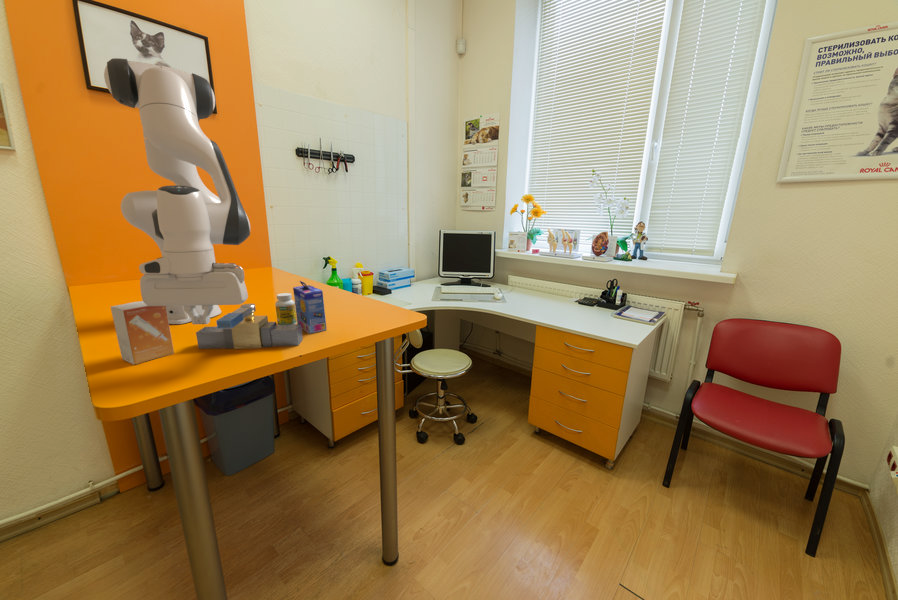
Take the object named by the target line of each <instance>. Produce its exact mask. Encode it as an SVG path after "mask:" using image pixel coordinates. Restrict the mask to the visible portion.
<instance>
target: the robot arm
mask: <svg viewBox="0 0 898 600" xmlns="http://www.w3.org/2000/svg"><path fill="white" fill-rule="evenodd" d="M103 73H104V74H103V78H104V83H105V85H106V88H107V89H108V91H109V93H110V94H111V95H112V98H113V99H114V100H115V101H117V102H118V104H121V105H123V106H126V107H129V108H132V109H135V108H137V109H138V111H139V117H140V123H141V126H142V133H143V135H142V136H143V141H144V147H145V154H146V161H147V165H148V168H149V169H150V170H151V171H152V172H153V173H155V174H156V175H158V177H159V176H160V177H161V178H164V179H166V180H168V181H171V182H172V183H174V185H165V186H161V187H159V188H157V189H156V190H140V191H133V192H127V193H126V194H125V195H124V196H123V198H122V199H121V203H120V210H121V214H122V216H123V218H124V219H125V220H126V221H127V222H128V223H129V224H130V225H131V226H133V227H134V228H136V229H138V230H141V231H142V232H144V233H145V234H147V236H148V237H150V238H151V239H152V240H153V241H154V243H155V244H156V245H157V247H158V248H159V250H160V253H161V257H157V258H156V259H152V260H150V261H146V262H143V263H141V264H139V266H138V269H139V272H140V273H141V274H143V275H142V276H141V277H140V281H139V286H140V294H141V299H142V300H141V301H143V302H144V303H145V304H146V305H147V306H166V311H167V316H168V322H169V325H182V324H186V323H190V322H191V323H192V325H209V323H210V322H211V318H213V317H217V316H218V315H221V313H222V310H221V308H220V306H229V305H230V306H233V305H234V306H236V305H243V304H244V303H245V302H246V301H247V299H248V297H249V295H248V294H249V293H248V290H247V286H246V283H245V271H244V268H242V267H241V266H240V265H239V264H238V265H237V264H236V263H234V262H229V263H222V262H219V263H218V262H216V256H215V251H214V250H215V249H214V245H232V246H239V245H241V244H243V242H245V241H246V240H247V239H248V238H249V237H250V236H251V223H250V219H249V217H248V215H247V213H246V210H245V209H244V207H243V204H242V202H241V200H240V197H239V195H238V192H237V189H236V186H235V183H234V181H233V178H232V176H231V172H230V171H229V168H228V165H227V162H226V160H225V158H224V156H223V153H222V150H221V149H220V147H219V145H218V144H217V142H215V141H214V140H212V139H210V138H208V136H207V135H206V134H205V133H204V132H203V130H202V128H201V126H200V123H199V122H200V120H206V119H208V118H209V117H211V116H212V115H213V112H214V110H215V107H216V96H215V93H214V90H213V89H212V85H211V83H210V82H209V81H208V79H206V78H205V77H203V76H201V75H198V74H196V73H193V72H192V73H188V72H186V71H182V70H180V69H177V68H173V67H170V66H166V65H158V64H154V63H153V64H152V63H147V62H140V61H135V60H134V61H131V60H128V59H127V58H111V59H109V60H108V61H107V62H106V66H105V69H104V72H103ZM197 167H198V168H200V169H202V170H204V171H205V172H206V173H207V174H208V175H209V176H210V177H211V179H212V182H213V185H214V188H215V191H216V193H217V195H218V196H217V195H216V194H215V193H213V191H211V190H210V189H209V188H207V186H206V185H205V184H204V182H203V180H202V178H201V177H200V175H199V173H198V169H197Z"/></svg>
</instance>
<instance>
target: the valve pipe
mask: <svg viewBox="0 0 898 600" xmlns="http://www.w3.org/2000/svg"><path fill="white" fill-rule="evenodd" d="M195 335H196V340H197V346H198V349H199V350H204V349H205V350H206V349H207V350H208V349H213V350H214V349H226V350H227V349H228V350H229V349H234V350H249V349H250V350H251V349H252V350H253V349H263V348H273V347H296V346H300V344H301V343H302V341H303V338H304V337H303V329H302V325H301V324H297V323H296V324H295V325H278V323H277V321H269V318H268V315H255V312H252V313H251V314H249V315H248V316H246V317H245V318H244V319H243V321H241V322H240V323H239V324H237V325H236V326H234V327H233V328H220V329H217V326H204V327H202V328H200V329H199V330H198V331H196V332H195Z"/></svg>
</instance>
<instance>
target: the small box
mask: <svg viewBox="0 0 898 600" xmlns="http://www.w3.org/2000/svg"><path fill="white" fill-rule="evenodd" d="M110 310H111V314H112V315H111V316H112V319H113V323H114V328H115V333H116V338H117V342H118V347H119V350H120V351H119V352H120V355H121V358H122V360H123V361H125V362H128V363H130V364H132V365H134V366H135V364H136V365H139V364H141V363H144V362H149V361H152V360H155V359H158V358H162V357H167V356H169V355H170V356H171V355H173V354H174V353H175V350H174V344H173V340H172V339H173V338H172V334H171V327H170V324H169V322H168V316H167V311H166V306H147V305H146V304H145V303H144V302H143V300H141V301H133V302H127V303H124V304H118V305H113V306H112V305H111V306H110Z"/></svg>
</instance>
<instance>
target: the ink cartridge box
mask: <svg viewBox="0 0 898 600" xmlns="http://www.w3.org/2000/svg"><path fill="white" fill-rule="evenodd" d="M299 283H300V284H301V286H294V287H292V290H293V297H294V298H293V299H294V302H295V311H296V320H297V323H296V325H297V324H301V325H302V331H303V330H304V331H305V332H306V333H307V334H314V333H319V332H324V331H327V330H328V329H327V320H326V312H325V311H326V310H325V302H324V293H323V290H322V289H321V288H317V287H315V286H313V285H310V284H308V285H307V284H306V283H305V282H304V281H301V280H299Z"/></svg>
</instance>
